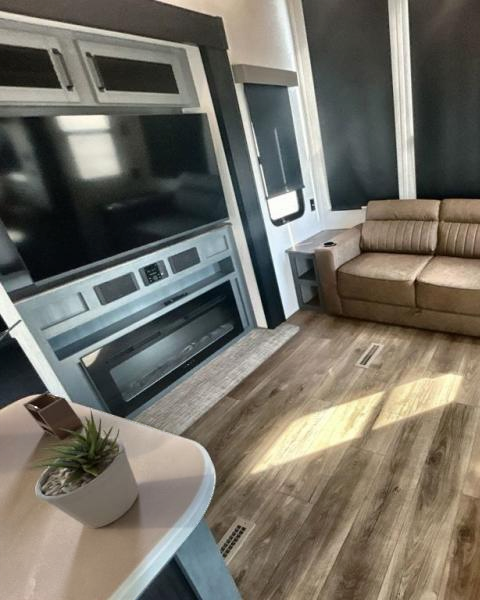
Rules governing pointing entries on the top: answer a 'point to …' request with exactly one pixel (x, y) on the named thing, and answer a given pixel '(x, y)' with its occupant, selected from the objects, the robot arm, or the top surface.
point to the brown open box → (53, 415)
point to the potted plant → (89, 478)
